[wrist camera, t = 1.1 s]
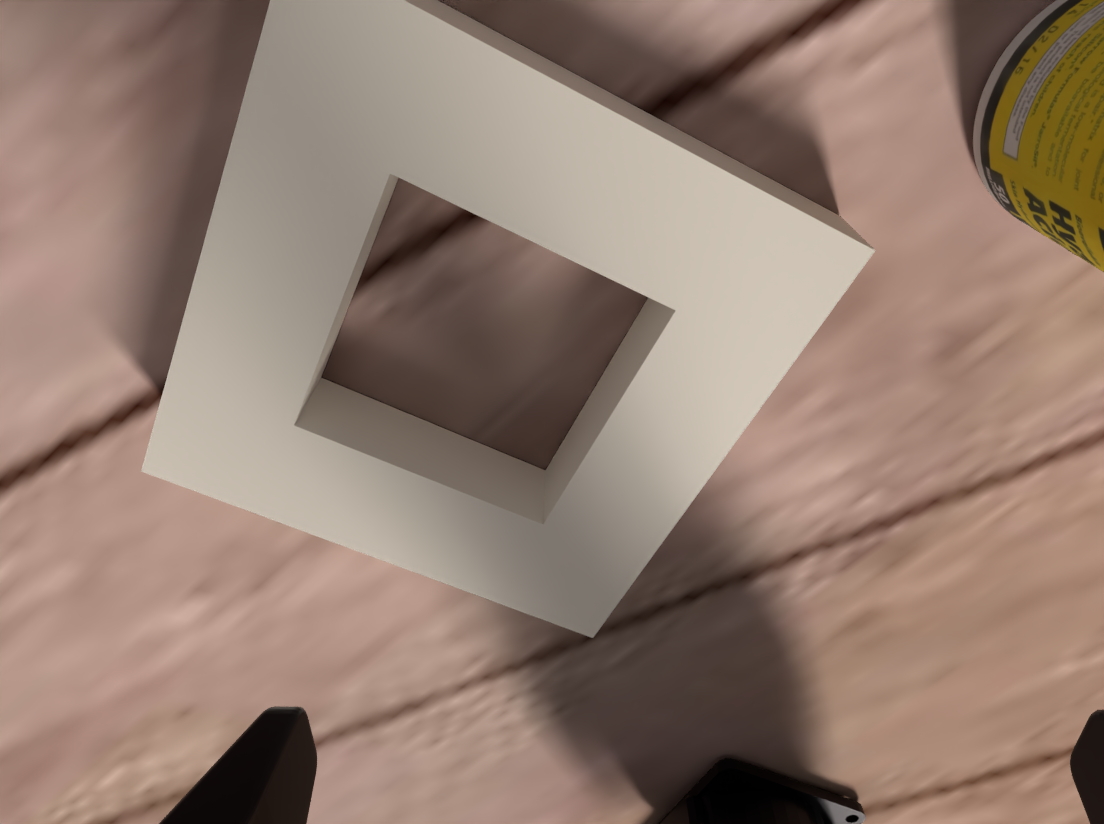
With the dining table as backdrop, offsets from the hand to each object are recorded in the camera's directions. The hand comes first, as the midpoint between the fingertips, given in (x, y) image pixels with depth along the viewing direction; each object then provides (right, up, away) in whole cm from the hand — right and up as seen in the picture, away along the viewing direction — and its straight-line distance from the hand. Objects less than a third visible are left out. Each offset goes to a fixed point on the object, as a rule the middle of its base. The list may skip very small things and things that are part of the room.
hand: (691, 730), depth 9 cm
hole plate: (-3, +6, +12) cm, 13 cm away
